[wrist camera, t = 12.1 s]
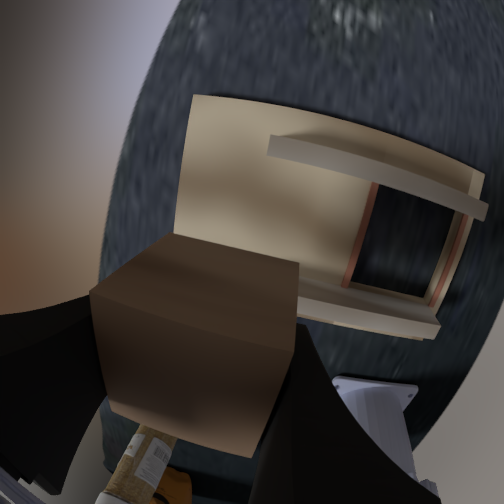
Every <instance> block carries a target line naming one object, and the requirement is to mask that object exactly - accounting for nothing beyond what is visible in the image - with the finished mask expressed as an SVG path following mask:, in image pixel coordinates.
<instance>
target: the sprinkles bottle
mask: <svg viewBox="0 0 504 504" xmlns="http://www.w3.org/2000/svg"><path fill="white" fill-rule="evenodd" d="M176 440H177V437H174V436H171V435H169V434H166V433H163V432H160V431H158V430H155V429H153V428H150V427H147V426H145V425H143V424H140V426H139V429H138V430H137V432H136V434H135V435H134V436H133V438H132V440H131V442H130V443H129V445H128V447H127V449H126V451H125V453H124V455H123V456H122V458H121V460H120V462H119V464H118V466H117V469H116V470H115V472H114V474H113V476H112V478H111V480H110V481H109V483H108V485H107V487H106V489H105V490H103V492H104V493H100V495H99V497H98V498H97V500H96V503H95V504H149V502H150V500H151V498H152V496H153V494H154V491H156V488H157V486H158V484H159V482H160V479H161V477H162V475H163V472H164V470H165V468H166V466H167V463H168V461H169V459H170V456H171V453H172V450H173V448H174V445H175V442H176Z"/></svg>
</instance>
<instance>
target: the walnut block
mask: <svg viewBox="0 0 504 504" xmlns="http://www.w3.org/2000/svg"><path fill="white" fill-rule="evenodd" d="M299 264H300V263H298V262H294V261H290V260H286V259H281V258H277V257H273V256H269V255H264V254H260V253H256V252H252V251H247V250H243V249H239V248H235V247H230V246H226V245H222V244H217V243H213V242H209V241H205V240H200V239H196V238H192V237H188V236H183V235H179V234H175V233H171V232H170V233H168V234H167V235H165V236H164V237H162V238H161V239H159V240H158V241H157V242H155V243H154V244H152V245H151V246H149V247H148V248H147V249H145V250H144V251H142V252H141V253H140V254H138V255H137V256H135V257H134V258H133V259H131V260H130V261H128V262H127V263H126V264H124V265H123V266H122V267H120V268H119V269H118V270H116V271H115V272H114V273H112V274H111V275H110V276H108V277H107V278H106V279H104V280H103V281H102V282H100V283H99V284H98V285H96V286H95V287H94V288H93V289H91V290H90V291H89V296H90V304H91V312H92V320H93V326H94V333H95V339H96V345H97V350H98V355H99V360H100V365H101V370H102V374H103V379H104V383H105V387H106V391H107V395H108V399H109V403H110V407H111V410H112V411H113V412H115V413H117V414H120V415H122V416H124V417H126V418H128V419H131V420H133V421H135V422H138V423H140V424H143V425H145V426H147V427H150V428H153V429H155V430H158V431H160V432H163V433H166V434H169V435H171V436H174V437H177V438H180V439H183V440H186V441H189V442H192V443H196V444H199V445H202V446H206V447H209V448H213V449H216V450H220V451H224V452H228V453H232V454H236V455H240V456H245V457H249V458H251V457H252V455H253V453H254V451H255V449H256V446H257V444H258V442H259V440H260V437H261V435H262V433H263V430H264V428H265V426H266V423H267V421H268V418H269V416H270V414H271V411H272V409H273V406H274V404H275V401H276V399H277V396H278V394H279V391H280V389H281V386H282V383H283V381H284V378H285V376H286V373H287V370H288V368H289V365H290V362H291V359H292V357H293V354H294V347H295V334H296V320H297V304H298V285H299Z"/></svg>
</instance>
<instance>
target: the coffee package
mask: <svg viewBox="0 0 504 504" xmlns="http://www.w3.org/2000/svg"><path fill="white" fill-rule="evenodd" d="M191 501H192V484H191V479H190V476H189V475H188V474H187V473H184V472H179V471H177V470H175V469H174V468H171V467H168V466H166V468H165V470H164V472H163V475H162V477H161V479H160V482H159V484H158V486H157V488H156V491H154V494H153V496H152V498H151V500H150V502H149V504H191Z"/></svg>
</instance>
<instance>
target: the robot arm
mask: <svg viewBox="0 0 504 504" xmlns="http://www.w3.org/2000/svg"><path fill="white" fill-rule="evenodd" d="M336 385H339V386H336ZM417 392H418V386H417V385H409V384H399V383H389V382H381V381H373V380H365V379H358V378H351V377H345V376H337V377H335V378H334V379H333V380H332V381H331V379H330V377H329V375H328V373H327V371H326V369H325V367H324V365H323V363H322V361H321V359H320V357H319V355H318V353H317V350H316V348H315V346H314V343H313V341H312V338H311V336H310V333H309V331H308V328H307V327H306V325H303V324H299V323H296V334H295V347H294V354H293V357H292V359H291V362H290V365H289V368H288V370H287V373H286V376H285V378H284V381H283V383H282V386H281V389H280V391H279V394H278V396H277V399H276V401H275V404H274V406H273V409H272V411H271V414H270V416H269V418H268V421H267V423H266V426H265V428H264V430H263V433H262V439H261V449H260V455H259V461H258V466H257V470H256V474H255V478H254V482H253V486H252V490H251V494H250V498H249V501H248V504H441V500H440V498H439V496H438V490H437V486H436V483H434V482H431V481H429V480H428V479H425V480H423V481H421V482H420V483H419V482H418V479H417V477H416V472H415V466H414V460H413V455H412V450H411V446H410V441H409V436H408V432H407V428H406V423H405V419H404V415H403V411H404V410H405V408H406V407H407V406H408V404H409V403H410V402H411V400H412V399H413V398H414V396H415V395H416V394H417ZM106 396H107V391H106V387H105V383H104V379H103V374H102V370H101V365H100V360H99V355H98V350H97V345H96V339H95V333H94V326H93V320H92V312H91V304H90V296H89V295H86V296H84V297H80V298H77V299H74V300H70V301H68V302H64V303H61V304H57V305H54V306H50V307H46V308H42V309H37V310H33V311H27V312H22V313H13V314H5V315H0V490H1V491H2V492H3V493H4V494H5V495H6V496H7V497H8V498H9V499H11V500H12V501H13V502H14V503H15V504H45V503H44V502H43V501H41V500H40V499H39V498H37V497H36V496H34V495H33V494H32V493H31V492H29V491H28V490H27V489H26V488H24V487H23V486H22V485H21V484H20V483H18V480H19V479H20V477H21V478H22V479H23V480H24V481H25V482H27V483H28V484H31V483H32V482H34V483H35V484H36V485H38V486H39V487H40V488H42V489H43V490H44V491H46V492H47V493H49V494H50V495H59V494H61V491H62V488H63V485H64V482H65V479H66V476H67V473H68V470H69V467H70V465H71V462H72V460H73V457H74V455H75V453H76V451H77V448H78V446H79V444H80V442H81V440H82V437H83V436H84V434H85V432H86V429H87V428H88V426H89V424H90V422H91V420H92V418H93V416H94V415H95V413H96V411H97V409H98V408H99V406H100V404H101V403H102V401H103V400H104V398H105V397H106ZM0 504H11V503H10V502H9V501H8V500H6V499H5V498H4V497H2V496H1V495H0Z"/></svg>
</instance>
